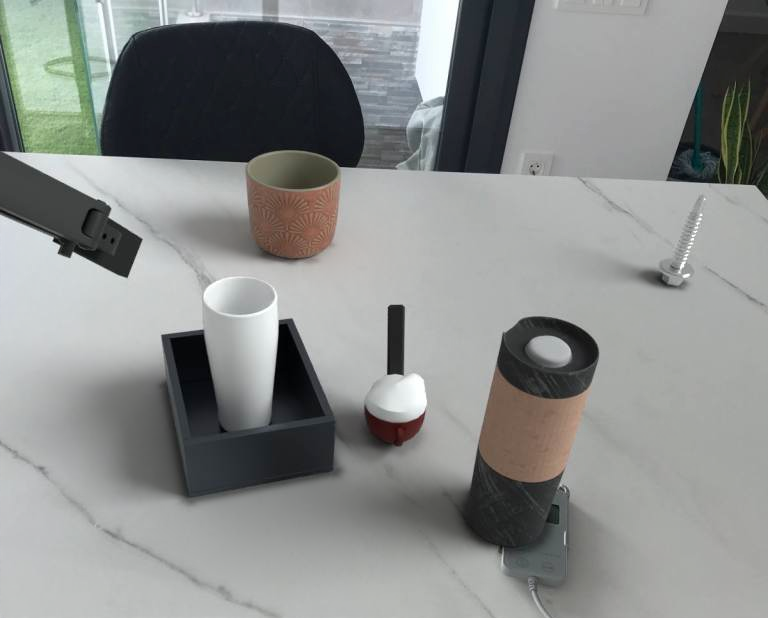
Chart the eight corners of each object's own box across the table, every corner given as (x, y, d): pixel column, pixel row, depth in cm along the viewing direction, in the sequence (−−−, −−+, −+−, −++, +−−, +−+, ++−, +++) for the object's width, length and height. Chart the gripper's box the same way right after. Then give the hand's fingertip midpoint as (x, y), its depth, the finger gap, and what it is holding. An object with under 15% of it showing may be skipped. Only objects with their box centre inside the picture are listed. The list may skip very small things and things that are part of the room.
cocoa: (410, 466, 76) (424, 370, 68) (350, 450, 77) (356, 353, 69) (434, 407, 83) (448, 314, 75) (378, 393, 84) (387, 300, 76)
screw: (667, 292, 105) (647, 273, 109) (696, 288, 107) (676, 270, 110) (699, 204, 97) (676, 187, 101) (730, 201, 99) (707, 185, 102)
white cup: (221, 450, 75) (211, 322, 65) (203, 407, 79) (192, 281, 70) (288, 434, 77) (288, 309, 68) (267, 393, 82) (265, 270, 72)
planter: (346, 229, 112) (350, 157, 105) (326, 273, 102) (329, 196, 95) (263, 216, 113) (261, 144, 106) (235, 258, 103) (232, 181, 96)
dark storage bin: (167, 384, 82) (160, 334, 78) (292, 366, 86) (292, 317, 82) (189, 497, 70) (183, 445, 66) (333, 470, 75) (336, 419, 70)
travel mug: (555, 549, 69) (614, 375, 57) (471, 550, 68) (512, 373, 56) (535, 486, 75) (585, 315, 62) (457, 486, 74) (492, 313, 62)
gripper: (-528, 67, 34) (-116, 232, 54) (-106, 211, 27) (184, 338, 48) (-456, -87, 34) (-75, 134, 55) (-25, 18, 28) (227, 225, 48)
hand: (46, 229), depth 51 cm, fingers open, 13 cm apart
